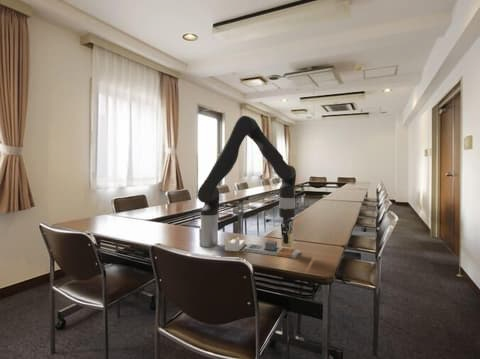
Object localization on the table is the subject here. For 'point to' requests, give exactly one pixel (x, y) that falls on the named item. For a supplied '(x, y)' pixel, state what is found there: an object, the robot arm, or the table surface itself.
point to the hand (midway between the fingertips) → (287, 242)
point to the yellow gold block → (290, 240)
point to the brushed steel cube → (271, 245)
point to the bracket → (234, 244)
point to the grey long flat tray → (280, 251)
